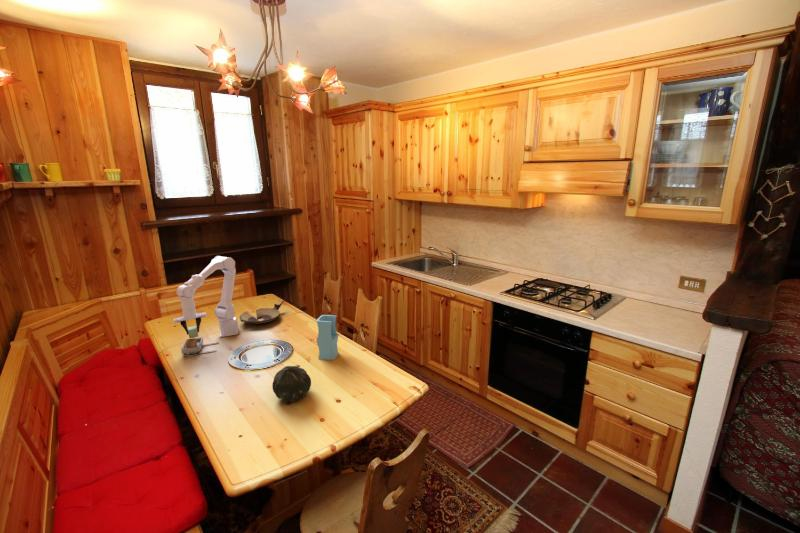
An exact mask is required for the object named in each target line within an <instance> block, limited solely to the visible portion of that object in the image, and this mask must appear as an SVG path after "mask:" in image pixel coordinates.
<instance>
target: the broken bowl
mask: <svg viewBox="0 0 800 533" xmlns="http://www.w3.org/2000/svg"><path fill="white" fill-rule="evenodd" d="M283 303H284V299H282V300H280V301H279V302H277V303H274V304H273V308H271V307H270V308H268V307H267V308H266V307H263V308H261V307H260V308H259V309H256V310H255V312H256V313H255V315H256V317H255V316H253V315H252V314H251V313H249V311H244V312H243V313H241V314H240V315H239V319H240V322H242V323H243V322H244V323H245V324H246V323H248V324H255V325H256V324H257V325H259V324H266V323H269V322H271V321H274V320H276V319H277V318H279V317H280V314H281V311H279V309H280V308H281V306H282V305H283ZM258 319H261V320H258Z"/></svg>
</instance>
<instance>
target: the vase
mask: <svg viewBox="0 0 800 533" xmlns="http://www.w3.org/2000/svg"><path fill="white" fill-rule="evenodd" d="M336 320H337V315H334V314H333V315H332V314H322V315H320V316H319V317H318V318H317V319H316V325H317V328H318V329H317V330H318V334H317V338H316V344H317V346H318V350H319V351H318V360H326V361H334V360H335V359H336V358H337V356H338V355H339V350H338V341H339V340H338V339H339V333H338V332H337V327H336Z"/></svg>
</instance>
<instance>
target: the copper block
mask: <svg viewBox="0 0 800 533" xmlns="http://www.w3.org/2000/svg"><path fill="white" fill-rule="evenodd" d="M196 338H197V337H194V338H187V339H185V340H186V342H185V341H184V342H185V345H186V348H191V347H197V343H196Z"/></svg>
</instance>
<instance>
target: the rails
mask: <svg viewBox="0 0 800 533" xmlns="http://www.w3.org/2000/svg"><path fill="white" fill-rule="evenodd" d="M219 344H220V343H219V342H218V341H217V342H212V343H203V344H202V347H205V346H213V345H219ZM210 353H217V349H214V350H213V349H212V350H208V351H207V350H206V351H200V352H199V353H197V351H195V352H189V353H187V354H186V355H183V354H182V357H183V358H187V357H191V356H196V355H197V356H198V355H205V354H210Z"/></svg>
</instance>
